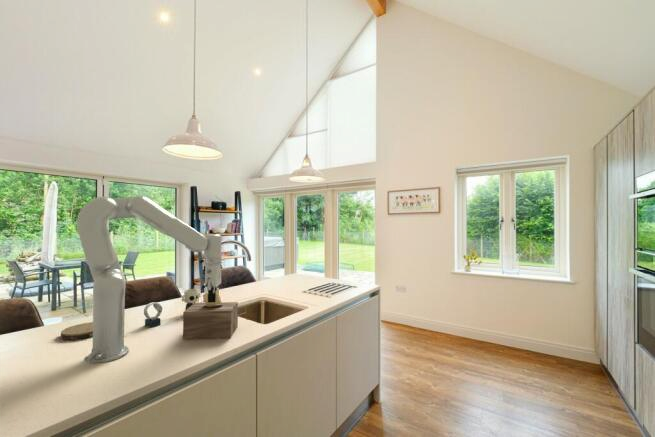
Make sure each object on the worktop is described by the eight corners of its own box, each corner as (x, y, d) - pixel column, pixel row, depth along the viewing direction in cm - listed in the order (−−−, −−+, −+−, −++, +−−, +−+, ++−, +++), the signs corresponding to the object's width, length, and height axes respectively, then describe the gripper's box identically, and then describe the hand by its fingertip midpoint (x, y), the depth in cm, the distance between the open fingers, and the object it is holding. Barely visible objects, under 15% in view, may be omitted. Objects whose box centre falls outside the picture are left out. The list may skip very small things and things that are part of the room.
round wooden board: (53, 337, 127) (54, 330, 127) (96, 326, 141) (96, 319, 141) (71, 344, 120) (71, 337, 120) (113, 331, 134) (113, 325, 134)
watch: (164, 323, 144) (164, 301, 144) (147, 328, 137) (148, 305, 137) (157, 321, 147) (157, 300, 147) (141, 326, 140) (141, 303, 140)
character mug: (185, 317, 153) (185, 293, 154) (177, 315, 157) (178, 291, 157) (203, 312, 163) (204, 289, 163) (196, 310, 166) (196, 287, 167)
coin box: (230, 338, 126) (230, 310, 126) (182, 339, 124) (183, 311, 124) (237, 326, 140) (237, 301, 140) (194, 328, 138) (195, 302, 138)
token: (206, 307, 131) (219, 303, 131) (202, 295, 131) (215, 290, 131) (208, 306, 133) (221, 301, 134) (204, 293, 133) (217, 289, 134)
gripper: (216, 263, 125) (216, 306, 125) (225, 258, 141) (225, 296, 141) (198, 263, 124) (198, 306, 124) (209, 259, 140) (209, 297, 140)
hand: (212, 301), depth 132 cm, fingers closed on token, 2 cm apart
